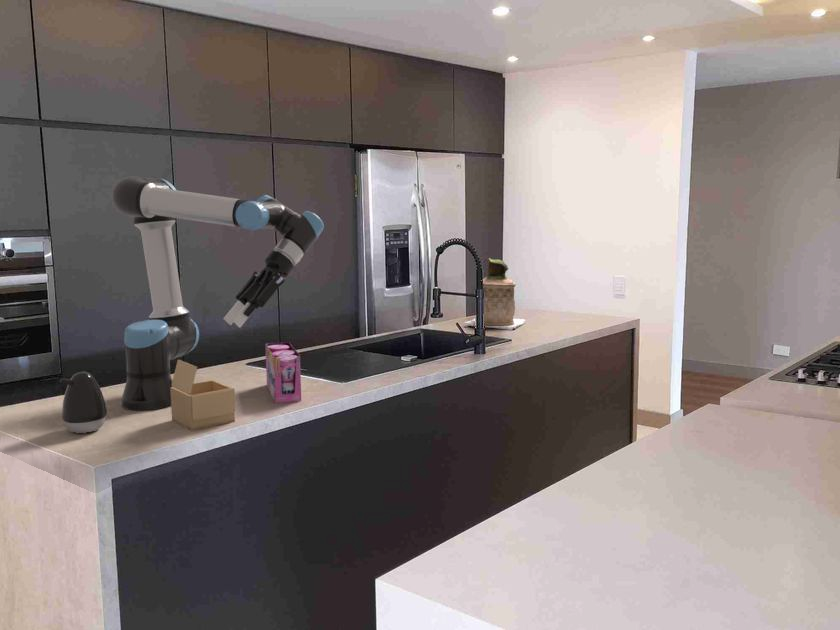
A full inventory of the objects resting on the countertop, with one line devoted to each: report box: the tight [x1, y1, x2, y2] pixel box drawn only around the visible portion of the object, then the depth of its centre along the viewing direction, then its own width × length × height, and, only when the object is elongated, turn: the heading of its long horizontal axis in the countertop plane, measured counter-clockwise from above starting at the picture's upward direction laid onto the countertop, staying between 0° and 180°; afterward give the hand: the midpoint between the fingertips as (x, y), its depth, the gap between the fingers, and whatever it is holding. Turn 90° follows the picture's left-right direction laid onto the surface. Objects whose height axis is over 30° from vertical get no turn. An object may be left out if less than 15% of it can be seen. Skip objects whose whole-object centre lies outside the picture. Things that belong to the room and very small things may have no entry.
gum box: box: [264, 341, 302, 404], centre depth 216 cm, size 24×8×14 cm, turn 18°
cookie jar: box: [464, 257, 526, 331], centre depth 339 cm, size 25×25×32 cm
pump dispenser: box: [59, 371, 108, 434], centre depth 180 cm, size 10×10×15 cm
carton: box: [170, 379, 236, 432], centre depth 189 cm, size 13×12×9 cm
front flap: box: [171, 359, 198, 394], centre depth 184 cm, size 11×7×1 cm
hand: (231, 323), depth 191 cm, fingers open, 4 cm apart
